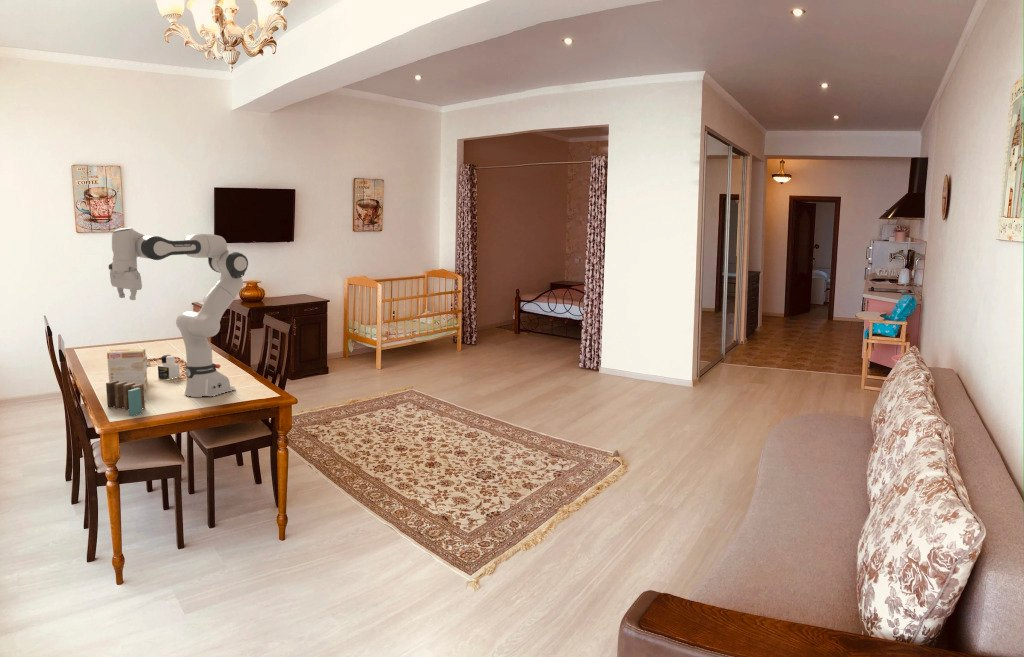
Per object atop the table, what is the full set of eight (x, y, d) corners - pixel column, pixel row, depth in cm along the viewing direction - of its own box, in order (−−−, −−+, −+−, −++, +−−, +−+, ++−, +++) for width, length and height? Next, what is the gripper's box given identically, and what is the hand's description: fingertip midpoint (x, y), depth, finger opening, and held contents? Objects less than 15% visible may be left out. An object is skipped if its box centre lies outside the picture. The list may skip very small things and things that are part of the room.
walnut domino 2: (136, 407, 294) (135, 382, 293) (127, 410, 290) (125, 385, 288) (133, 406, 295) (132, 382, 293) (124, 409, 290) (122, 385, 288)
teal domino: (142, 413, 286) (140, 388, 284) (132, 416, 281) (130, 390, 280) (139, 412, 287) (137, 387, 285) (129, 415, 282) (127, 390, 280)
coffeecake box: (148, 387, 326) (145, 348, 323) (145, 391, 320) (142, 351, 316) (113, 389, 322) (110, 349, 318) (109, 393, 315) (106, 352, 312)
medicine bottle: (158, 379, 343) (156, 356, 341) (169, 376, 349) (168, 353, 347) (169, 380, 341) (167, 357, 339) (180, 377, 347) (178, 354, 345)
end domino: (120, 404, 297) (118, 380, 295) (110, 407, 292) (108, 383, 290) (117, 404, 297) (115, 380, 295) (107, 407, 292) (105, 383, 291)
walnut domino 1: (128, 406, 296) (126, 381, 294) (118, 409, 291) (117, 384, 289) (125, 405, 296) (123, 381, 294) (116, 408, 291) (114, 384, 289)
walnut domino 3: (145, 408, 293) (143, 383, 291) (135, 411, 288) (134, 386, 287) (142, 407, 294) (140, 383, 292) (132, 410, 289) (131, 386, 287)
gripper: (145, 267, 280) (147, 300, 283) (121, 264, 292) (123, 296, 294) (129, 268, 275) (131, 301, 278) (106, 265, 287) (108, 297, 289)
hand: (127, 298), depth 286 cm, fingers open, 8 cm apart
